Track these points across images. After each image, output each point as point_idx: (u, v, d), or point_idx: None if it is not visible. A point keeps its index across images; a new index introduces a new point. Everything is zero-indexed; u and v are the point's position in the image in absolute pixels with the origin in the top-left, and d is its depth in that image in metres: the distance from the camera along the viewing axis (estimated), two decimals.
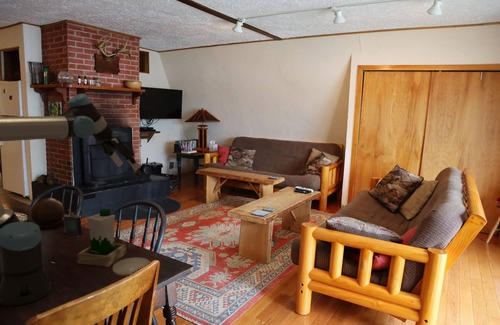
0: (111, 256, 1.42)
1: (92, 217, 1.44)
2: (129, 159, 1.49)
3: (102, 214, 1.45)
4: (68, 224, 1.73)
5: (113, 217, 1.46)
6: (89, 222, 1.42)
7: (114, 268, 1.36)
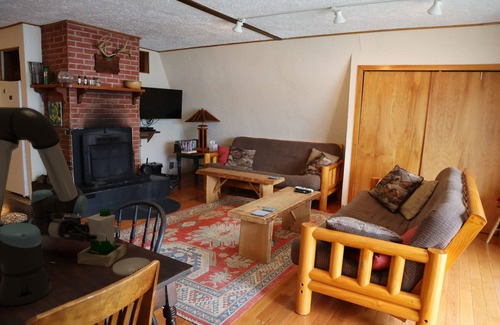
0: (111, 256, 1.42)
1: (92, 217, 1.43)
2: None
3: (102, 214, 1.44)
4: None
5: (113, 217, 1.45)
6: (89, 222, 1.42)
7: (114, 268, 1.36)
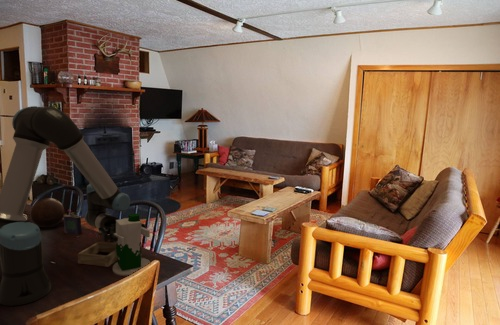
0: (111, 256, 1.42)
1: (120, 220, 1.36)
2: None
3: (129, 219, 1.36)
4: (68, 224, 1.74)
5: (138, 224, 1.34)
6: (116, 225, 1.36)
7: (114, 268, 1.36)
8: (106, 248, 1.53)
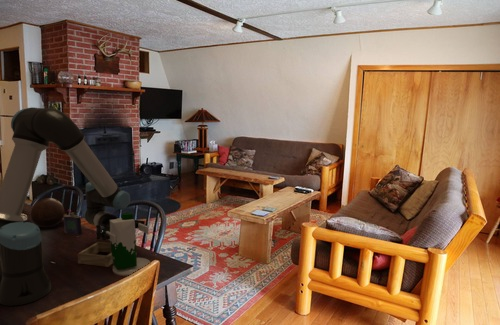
0: (111, 256, 1.42)
1: (114, 220, 1.37)
2: None
3: (122, 217, 1.36)
4: (68, 224, 1.74)
5: (132, 221, 1.35)
6: (110, 225, 1.36)
7: (114, 268, 1.36)
8: (106, 248, 1.53)
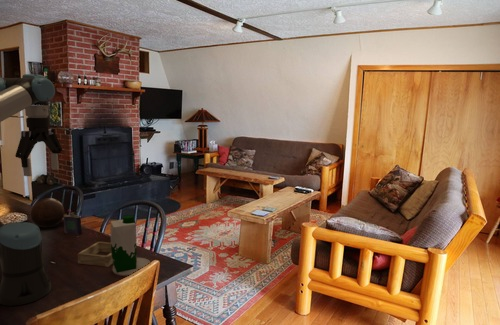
0: (111, 256, 1.42)
1: (115, 222, 1.35)
2: None
3: (123, 220, 1.34)
4: (68, 224, 1.74)
5: (133, 226, 1.33)
6: None
7: (114, 268, 1.36)
8: (106, 248, 1.53)
